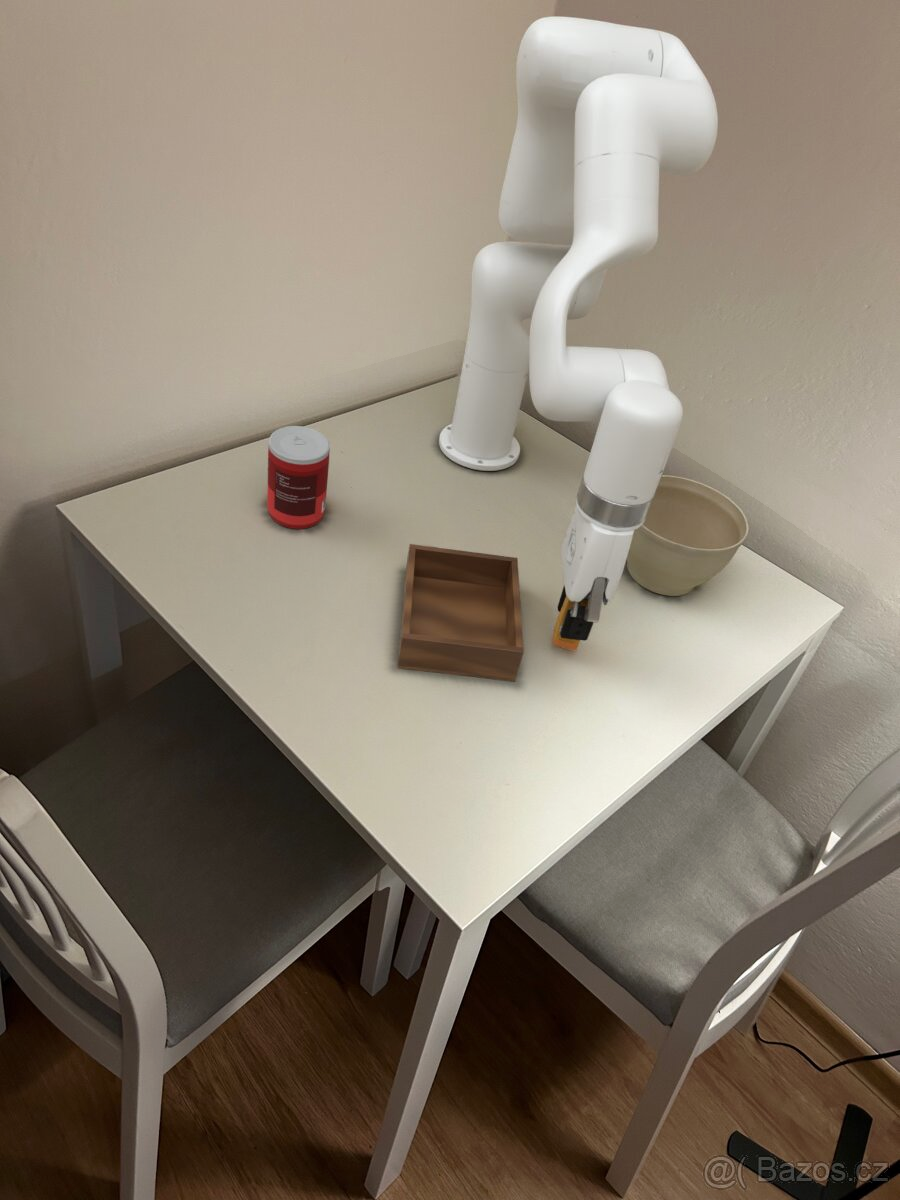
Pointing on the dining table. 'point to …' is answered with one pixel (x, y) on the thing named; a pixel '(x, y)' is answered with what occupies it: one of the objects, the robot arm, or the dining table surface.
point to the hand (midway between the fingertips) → (571, 623)
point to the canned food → (297, 476)
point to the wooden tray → (461, 614)
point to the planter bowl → (685, 537)
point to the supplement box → (557, 639)
